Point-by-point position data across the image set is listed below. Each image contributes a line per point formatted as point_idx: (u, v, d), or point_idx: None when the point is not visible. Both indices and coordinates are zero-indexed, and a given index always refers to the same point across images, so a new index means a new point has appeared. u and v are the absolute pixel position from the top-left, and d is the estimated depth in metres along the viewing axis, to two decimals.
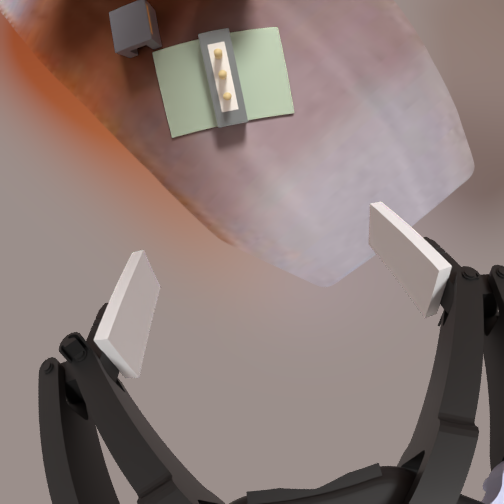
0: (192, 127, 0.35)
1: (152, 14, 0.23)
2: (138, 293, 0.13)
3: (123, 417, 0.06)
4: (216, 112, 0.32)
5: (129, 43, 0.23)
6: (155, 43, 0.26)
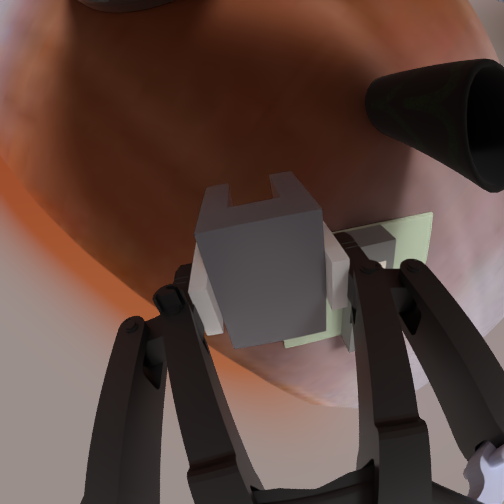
0: (311, 338, 0.30)
1: None
2: None
3: (204, 383, 0.07)
4: (352, 340, 0.27)
5: (271, 336, 0.14)
6: None
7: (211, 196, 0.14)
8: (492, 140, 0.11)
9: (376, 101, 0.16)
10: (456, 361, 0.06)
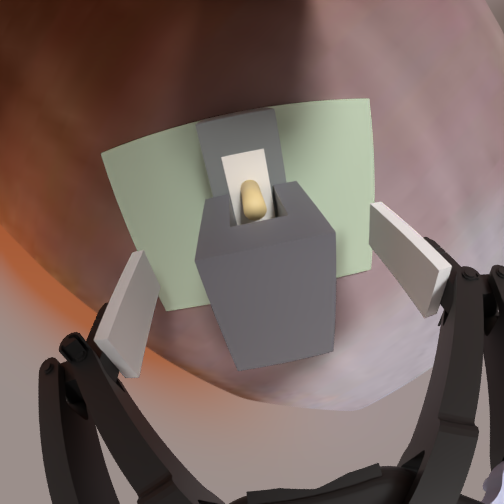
0: (199, 299, 0.22)
1: None
2: (138, 293, 0.13)
3: (123, 417, 0.06)
4: None
5: (277, 358, 0.13)
6: None
7: (211, 210, 0.13)
8: None
9: None
10: None
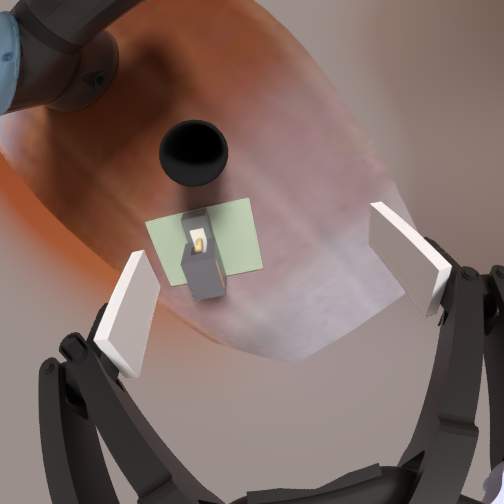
0: (186, 280, 0.51)
1: (217, 255, 0.42)
2: (138, 293, 0.13)
3: (123, 417, 0.06)
4: None
5: (206, 296, 0.41)
6: (224, 283, 0.44)
7: (186, 249, 0.41)
8: (221, 154, 0.31)
9: None
10: None
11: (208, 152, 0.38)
